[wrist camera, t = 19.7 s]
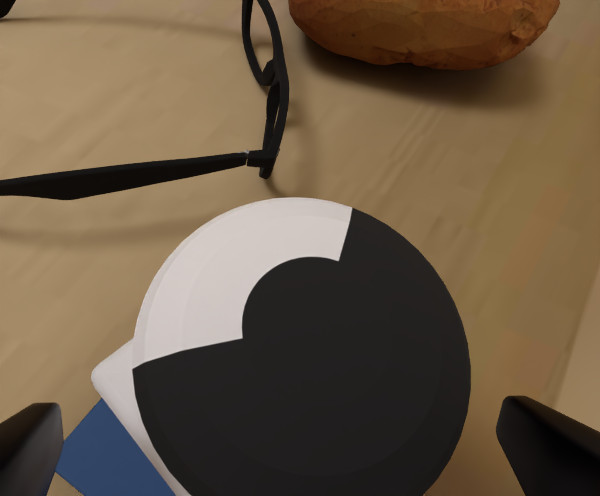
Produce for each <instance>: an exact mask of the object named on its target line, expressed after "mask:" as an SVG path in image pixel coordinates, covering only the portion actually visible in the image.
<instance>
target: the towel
mask: <svg viewBox="0 0 600 496" xmlns="http://www.w3.org/2000/svg"><path fill="white" fill-rule="evenodd" d="M55 472H56V473H58V474H59V475H60V476H61V477H62V478H64V479H65V480H66V481H67V482H69V483H70V484H71V485H72V486H73V487H75V488H76V489H77V490H78V491H79V492H81V493H82V494H83V495H84V496H176V495H175V493H174V492H173V491H172V489H171V488H170V487H169V485H168V484H167V483H166V482H165V480H164V479H163V478H162V476H161V475H160V474H159V472H158V471H157V470H156V468H155V467H154V466H153V464H152V463H151V462H150V460H149V459H148V458H147V456H146V455H145V454H144V452H143V451H142V450H141V448H140V447H139V446H138V444H137V443H136V442H135V440H134V439H133V438H132V436H131V435H130V434H129V432H128V431H127V430H126V429H125V427H124V426H123V425H122V423H121V422H120V421H119V419H118V418H117V417H116V415H115V414H114V413H113V411H112V410H111V409H110V407H109V406H108V405H107V403H106V402H105V401H104V399H103V398H101V399H100V401H99V402H98V403H97V404H96V405H95V406H94V407H93V409H92V410H91V411H90V412H89V413H88V414H87V415H86V417H85V418H84V419H83V420H82V421H81V422H80V424H79V425H78V426H77V427H76V428H75V429H74V430H73V432H72V433H71V434H70V435H69V436H68V437H67V438H66V440H65V441H64V442H63V449H62V453H61V456H60V459H59V461H58V464H57V467H56V470H55Z"/></svg>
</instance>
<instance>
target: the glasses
mask: <svg viewBox="0 0 600 496" xmlns="http://www.w3.org/2000/svg"><path fill="white" fill-rule="evenodd" d="M15 1H16V0H0V18H2V17H4V16H5V15H7V14H8V13H9V11H10V9H11V8H12V6H13V4H14V3H15ZM257 1H258V3H259V4H260V6H261V8H262V10H263V12H264V14H265V17H266V19H267V22H268V25H269V28H270V32H271V36H272V41H273V59H272V60H270V61H269V62H267V64H266V66H265V68H264V70H263V73H262V71H261V69H260V67H259V64H258V62H257V59H256V56H255V54H254V50H253V47H252V43H251V38H250V21H251V13H252V5H253V0H242V37H243V44H244V48H245V52H246V55H247V58H248V61H249V64H250V67H251V70H252V72H253V74H254V76H255V78H256V80H257V82H258V83H259V84H260V85H262V86H271V87H270V90H269V93H268V98H267V107H266V114H267V119H266V126H265V133H264V141H263V149H262V150H255V151H248V150H245V152H238V153H231V154H223V155H215V156H206V157H197V158H188V159H176V160H164V161H152V162H143V163H133V164H124V165H115V166H106V167H98V168H90V169H82V170H73V171H65V172H57V173H49V174H42V175H34V176H27V177H20V178H13V179H6V180H0V196H30V197H40V198H49V199H58V200H74V199H79V198H85V197H90V196H95V195H100V194H106V193H111V192H117V191H122V190H128V189H132V188H137V187H142V186H147V185H152V184H157V183H162V182H167V181H173V180H178V179H183V178H189V177H193V176H198V175H203V174H207V173H212V172H217V171H221V170H226V169H230V168H235V167H239V166H243V165H246V161H247V166H250V167H260V172H259V176H260V177H261V178H264V179H266V180H267V179H268V178H269V177H270V175H271V172H272V170H273V167H274V164H275V161H276V158H277V156H278V154H279V151H280V148H279V147H280V143H281V140H282V136H283V131H284V127H285V122H286V117H287V111H288V103H289V80H288V74H287V69H286V64H285V59H284V53H283V47H282V41H281V36H280V31H279V28H278V24H277V21H276V18H275V15H274V12H273V10H272V8H271V5H270V3H269V1H268V0H257ZM278 107H279V111H278ZM277 111H278V116H277V121H276V125H275V129H274V124H275V119H276V115H277ZM273 130H274V133H273ZM247 159H248V160H247Z"/></svg>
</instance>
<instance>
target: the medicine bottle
mask: <svg viewBox="0 0 600 496" xmlns="http://www.w3.org/2000/svg"><path fill="white" fill-rule="evenodd" d="M91 380H92V383H93V386H94V387H95V389H96V390H97V391H98V393H99V394H100V395H101V397H102V398H103V399H104V401H105V402H106V403H107V405H108V406H109V407H110V409H111V410H112V411H113V413H114V414H115V415H116V417H117V418H118V419H119V421H120V422H121V423H122V425H123V426H124V427H125V429H126V430H127V431H128V432H129V434H130V435H131V436H132V438H133V439H134V440H135V442H136V443H137V444H138V446H139V447H140V448H141V450H142V451H143V452H144V454H145V455H146V456H147V458H148V459H149V460H150V462H151V463H152V464H153V466H154V467H155V468H156V470H157V471H158V472H159V474H160V475H161V476H162V478H163V479H164V480H165V482H166V483H167V484H168V485H169V487H170V488H171V489H172V491H173V492H174V493H175V495H176V496H423V494H424V493H425V492H426V491H427V490H428V489H429V488H430V487H431V486H432V484H433V483H434V482H435V481H436V480H437V479H438V477H439V476H440V474H441V472H442V471H443V469H444V468H445V466H446V465H447V463H448V462H449V460H450V459H451V456H452V454H453V452H454V450H455V448H456V445H457V443H458V441H459V439H460V437H461V433H462V430H463V426H464V423H465V419H466V416H467V411H468V404H469V397H470V390H471V366H470V358H469V350H468V343H467V339H466V335H465V331H464V328H463V324H462V321H461V318H460V316H459V313H458V310H457V308H456V305H455V303H454V301H453V299H452V297H451V295H450V293H449V291H448V290H447V288H446V286H445V284H444V282H443V281H442V279H441V278H440V277H439V275H438V274H437V272H436V271H435V269H434V268H433V267H432V265H431V264H430V263H429V262H428V261H427V260H426V258H425V257H424V256H423V255H422V254H421V253H420V252H419V250H417V249H416V248H415V247H414V246H413V245H412V244H411V243H410V242H409V241H408V240H406V239H405V238H404V237H403V236H402V235H400V234H399V233H398V232H396V231H395V230H393V229H392V228H391V227H389V226H388V225H386V224H385V223H383V222H381V221H379V220H377V219H376V218H374V217H372V216H370V215H368V214H366V213H364V212H361V211H359V210H357V209H354V208H352V207H349V206H345V205H342V204H338V203H335V202H331V201H326V200H320V199H314V198H299V197H289V198H273V199H268V200H262V201H257V202H253V203H250V204H246V205H243V206H240V207H237V208H234V209H232V210H230V211H228V212H225V213H223V214H221V215H219V216H217V217H215V218H214V219H212V220H210V221H209V222H207V223H206V224H204V225H202V226H201V227H199V228H198V229H197V230H196V231H194V232H193V233H192V234H191V235H190V236H188V237H187V238H186V239H185V240H184V241H182V243H181V244H180V245H179V246H178V247H177V248H176V249H175V250H174V251H173V252H172V253H171V255H170V256H169V257H168V258H167V259H166V261H165V262H164V264H163V265H162V267H161V268H160V270H159V271H158V272H157V274H156V275H155V277H154V279H153V281H152V283H151V285H150V287H149V289H148V291H147V293H146V295H145V297H144V300H143V303H142V306H141V309H140V312H139V315H138V318H137V323H136V329H135V334H134V338H133V339H131V340H130V341H129V342H127V343H126V344H125V345H123V346H122V347H121V348H119V349H118V350H117V351H115V352H114V353H113V354H111V355H110V356H109V357H107V358H106V359H105V360H103V361H102V362H101V363H99V364H98V365H97V366H96V367H95V368H94V370H93V371H92V376H91Z"/></svg>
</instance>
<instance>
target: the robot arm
mask: <svg viewBox="0 0 600 496" xmlns="http://www.w3.org/2000/svg"><path fill="white" fill-rule="evenodd" d="M496 434H497V438H498V440H499V443H500V445H501V447H502V449H503V451H504V453H505V455H506V457H507V459H508V461H509V463H510V465H511V467H512V469H513V471H514V473H515V475H516V477H517V479H518V481H519V483H520V485H521V487H522V490H523V492H524V494H525V496H600V432H599V431H596V430H594V429H592V428H590V427H588V426H586V425H584V424H582V423H580V422H578V421H576V420H574V419H572V418H570V417H568V416H566V415H564V414H562V413H560V412H557V411H556V410H554V409H551V408H549V407H547V406H545V405H543V404H541V403H539V402H537V401H535V400H533V399H531V398H529V397H527V396H508V397H506V398H505V399H504V400H503V403H502V407H501V411H500V414H499V418H498V422H497V426H496ZM62 449H63V428H62V418H61V409H60V406H59V405H58V404H57V403H34V404H32V405H30V406H28V407H26V408H25V409H23V410H21V411H20V412H18V413H17V414H15V415H13V416H12V417H10V418H8V419H7V420H5V421H4V422H2V423H0V496H46V495H47V492H48V490H49V487H50V484H51V481H52V478H53V476H54V473H55V470H56V467H57V464H58V461H59V459H60V456H61V453H62Z"/></svg>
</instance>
